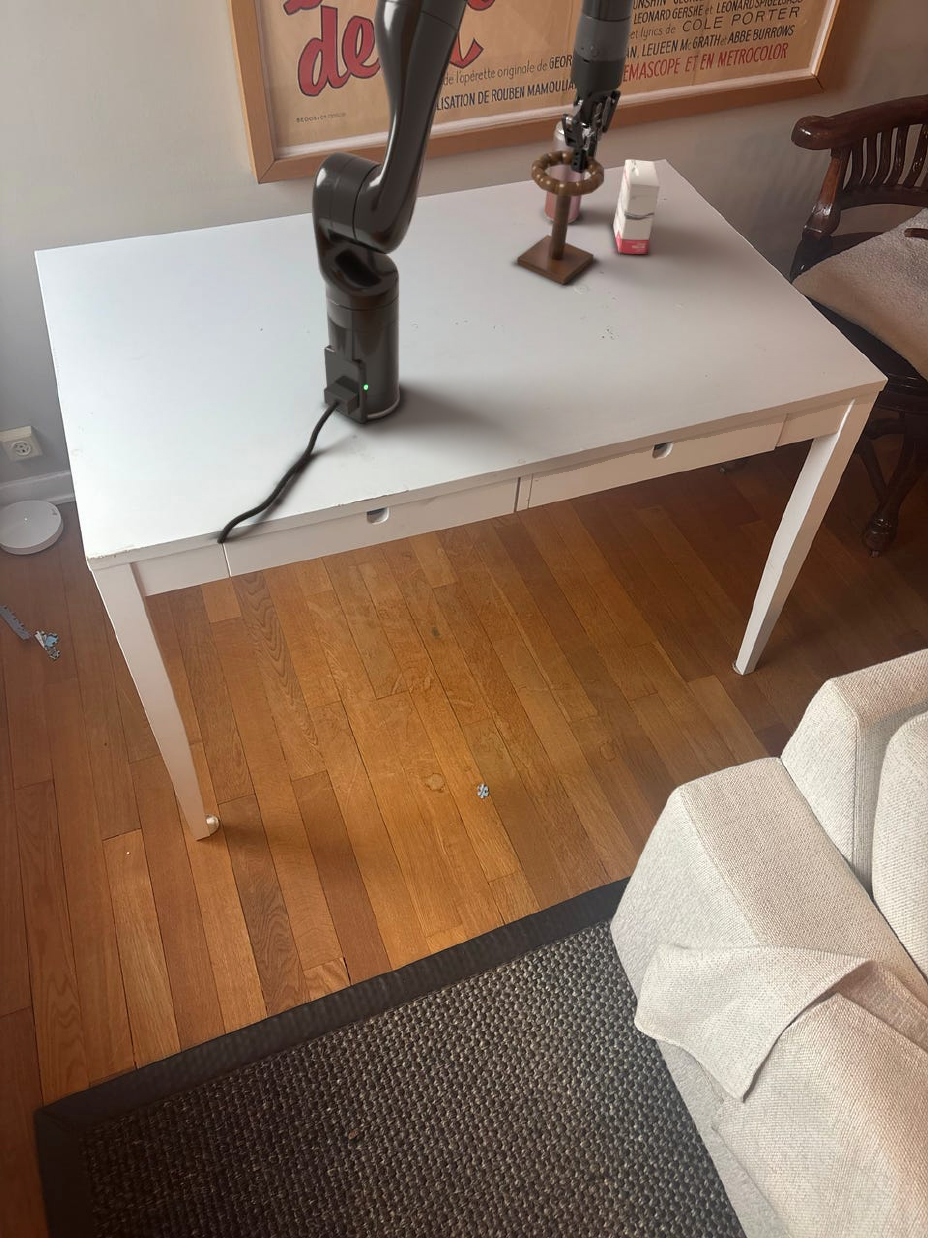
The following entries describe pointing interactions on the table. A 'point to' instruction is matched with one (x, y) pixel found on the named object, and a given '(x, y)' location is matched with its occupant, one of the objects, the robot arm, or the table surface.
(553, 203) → the beverage can
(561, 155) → the ring
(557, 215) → the post
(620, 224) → the ink box
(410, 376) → the table surface
